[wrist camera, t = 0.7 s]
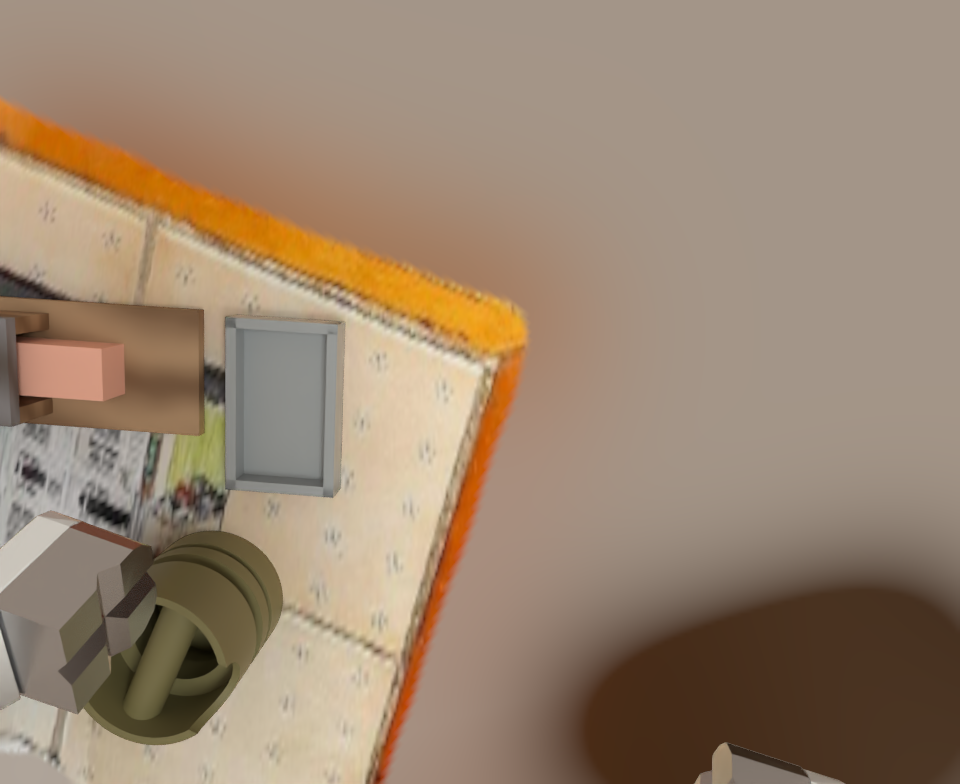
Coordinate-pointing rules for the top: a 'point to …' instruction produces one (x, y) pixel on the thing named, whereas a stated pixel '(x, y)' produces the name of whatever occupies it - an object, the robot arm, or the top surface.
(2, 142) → the top surface
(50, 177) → the top surface
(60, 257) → the top surface
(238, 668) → the piston
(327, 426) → the tray
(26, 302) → the brown slab
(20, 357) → the salmon pink rectangular prism
